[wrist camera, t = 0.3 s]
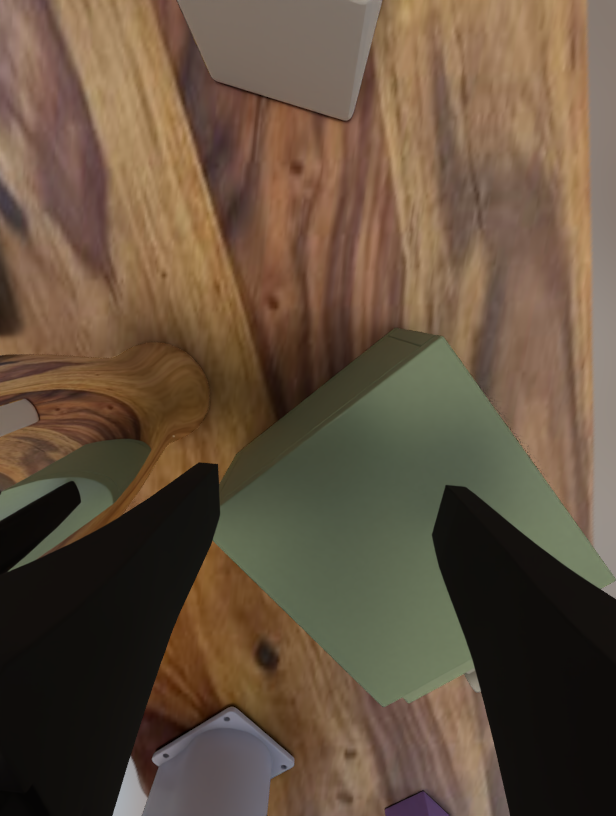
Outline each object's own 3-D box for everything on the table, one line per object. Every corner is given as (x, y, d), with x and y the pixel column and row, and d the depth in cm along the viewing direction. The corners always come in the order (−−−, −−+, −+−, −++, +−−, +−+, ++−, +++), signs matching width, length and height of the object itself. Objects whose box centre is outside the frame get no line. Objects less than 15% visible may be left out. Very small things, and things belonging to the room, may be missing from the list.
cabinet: (517, 492, 22) (617, 581, 15) (363, 589, 24) (383, 708, 17) (395, 327, 19) (443, 335, 12) (236, 453, 22) (195, 524, 14)
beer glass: (93, 421, 21) (-372, 645, 7) (120, 314, 20) (-435, 323, 5) (198, 461, 22) (-33, 748, 8) (233, 361, 20) (18, 488, 6)
